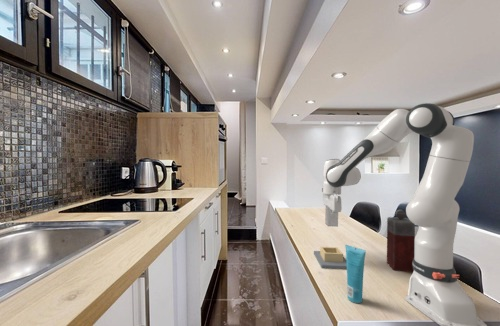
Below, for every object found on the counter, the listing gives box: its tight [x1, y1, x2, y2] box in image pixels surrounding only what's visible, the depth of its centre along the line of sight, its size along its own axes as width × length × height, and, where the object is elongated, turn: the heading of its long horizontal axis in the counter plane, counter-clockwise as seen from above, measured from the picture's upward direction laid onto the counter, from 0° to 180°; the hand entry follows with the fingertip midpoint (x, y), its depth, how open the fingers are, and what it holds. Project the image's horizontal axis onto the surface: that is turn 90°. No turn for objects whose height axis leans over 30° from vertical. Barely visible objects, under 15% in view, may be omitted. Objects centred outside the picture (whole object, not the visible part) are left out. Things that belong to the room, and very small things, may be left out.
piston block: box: [324, 205, 339, 228], centre depth 119 cm, size 5×5×10 cm
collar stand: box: [313, 246, 347, 270], centre depth 119 cm, size 18×14×6 cm
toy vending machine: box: [386, 209, 416, 273], centre depth 114 cm, size 9×11×28 cm
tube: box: [344, 244, 367, 304], centre depth 85 cm, size 7×5×19 cm, turn 47°
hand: (331, 217), depth 119 cm, fingers closed on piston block, 5 cm apart
